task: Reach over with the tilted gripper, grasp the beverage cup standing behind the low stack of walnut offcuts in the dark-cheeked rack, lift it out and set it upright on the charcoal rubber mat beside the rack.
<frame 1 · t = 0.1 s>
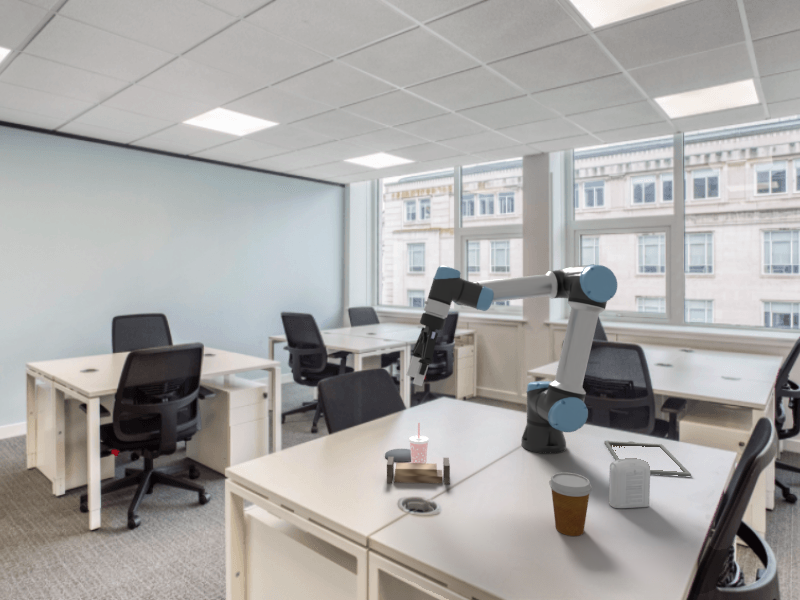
hand: (413, 380, 153), 28 cm above the table, tool tilted 20°, fingers open, 13 cm apart
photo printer: (629, 506, 129), on the table
mat: (401, 456, 165), on the table
grey rectangular frame: (642, 459, 163), on the table
disposable coffee cup: (569, 530, 116), on the table
beverage cup: (418, 467, 155), on the table
offcut rack: (418, 479, 145), on the table
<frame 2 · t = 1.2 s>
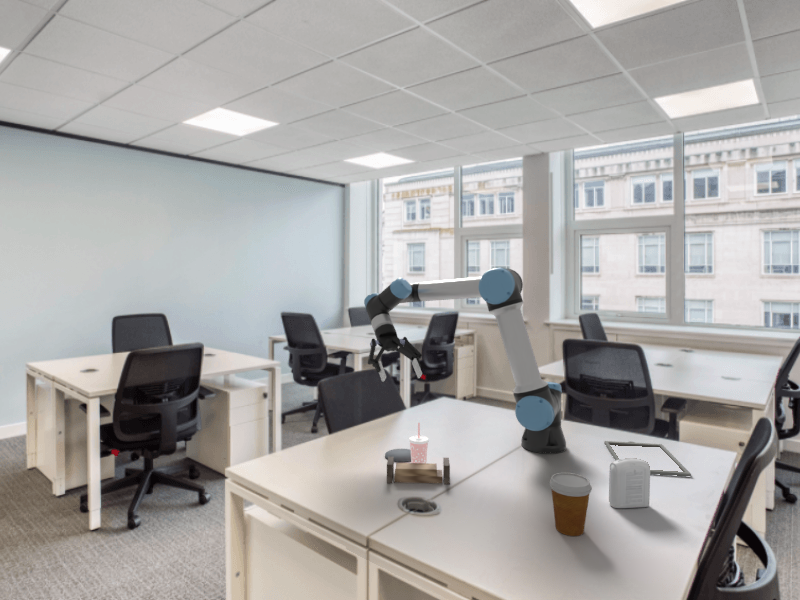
hand: (402, 377, 167), 26 cm above the table, tool tilted 45°, fingers open, 13 cm apart
nothing on the table moved.
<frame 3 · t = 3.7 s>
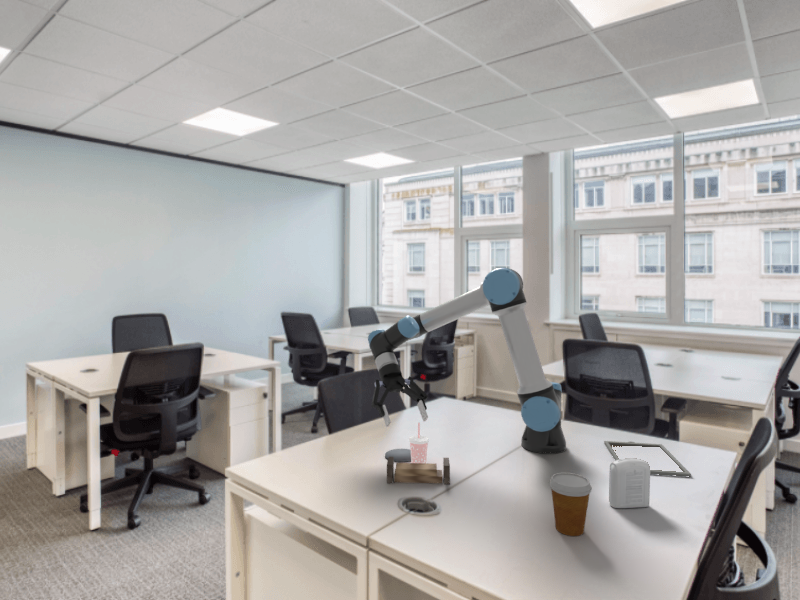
hand: (407, 422, 160), 13 cm above the table, tool tilted 45°, fingers open, 13 cm apart
nothing on the table moved.
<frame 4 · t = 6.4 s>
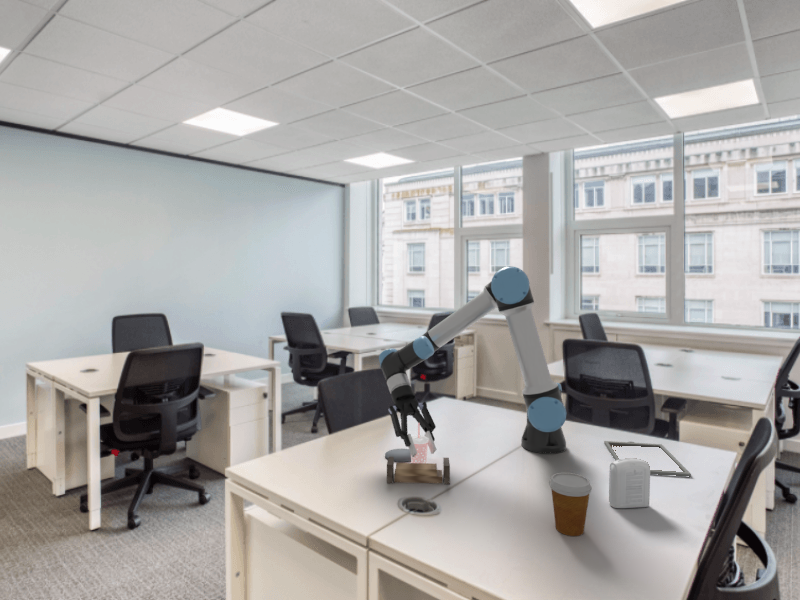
hand: (424, 453, 152), 5 cm above the table, tool tilted 45°, fingers closed on beverage cup, 6 cm apart
beverage cup: (418, 467, 155), on the table, touching gripper
everything else where it was.
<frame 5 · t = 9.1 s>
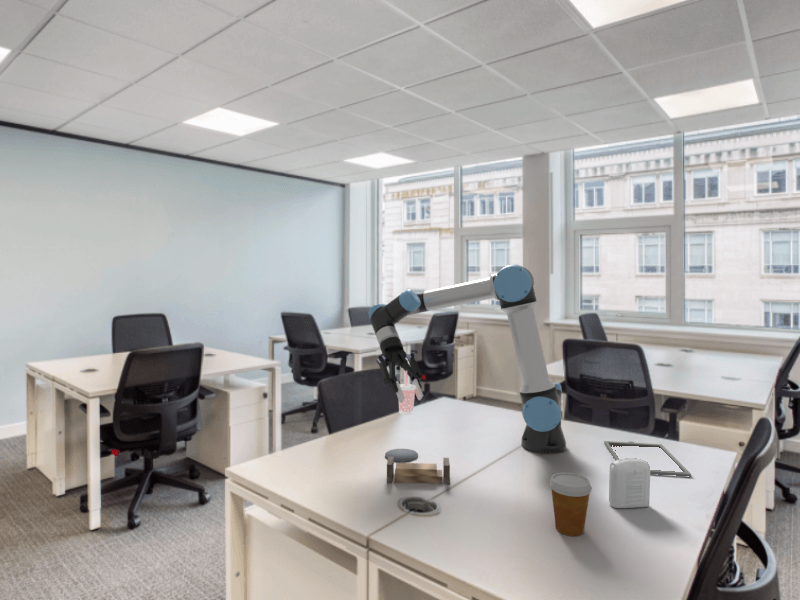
hand: (411, 399, 158), 21 cm above the table, tool tilted 45°, fingers closed on beverage cup, 6 cm apart
beverage cup: (406, 413, 161), point 15 cm above the table, touching gripper
everything else where it was.
when the fingers open (7 cm above the table, at t = 12.2 s): beverage cup drops 1 cm, resting on mat.
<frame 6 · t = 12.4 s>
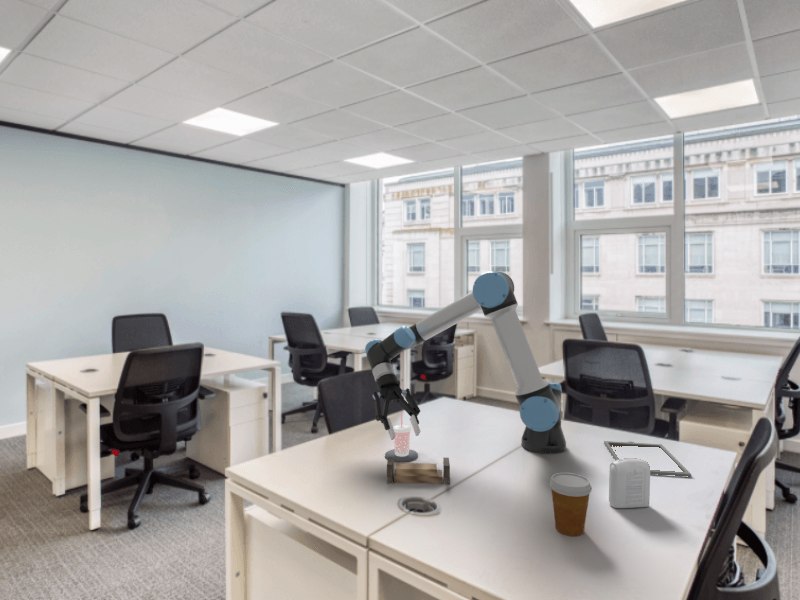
hand: (406, 435, 161), 8 cm above the table, tool tilted 45°, fingers open, 8 cm apart
beverage cup: (401, 454, 165), resting on mat
everything else where it was.
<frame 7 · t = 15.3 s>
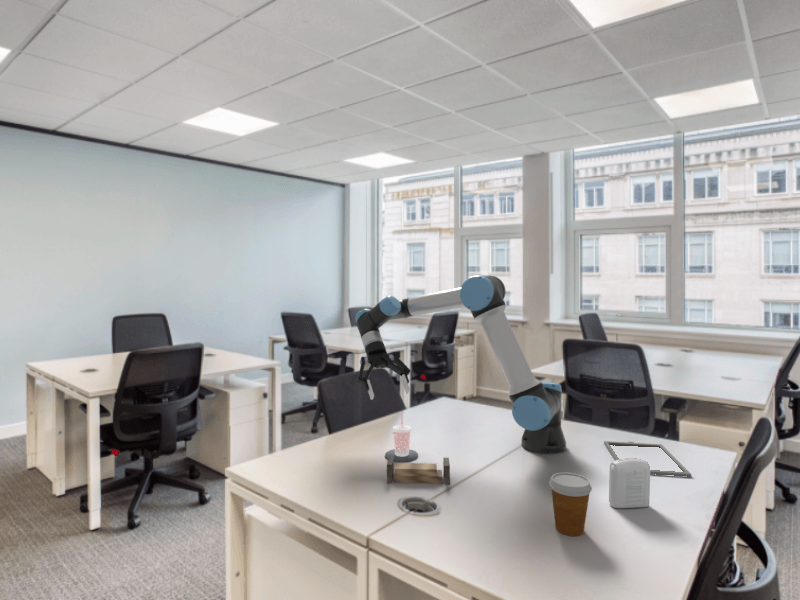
hand: (390, 394, 174), 18 cm above the table, tool tilted 40°, fingers open, 13 cm apart
nothing on the table moved.
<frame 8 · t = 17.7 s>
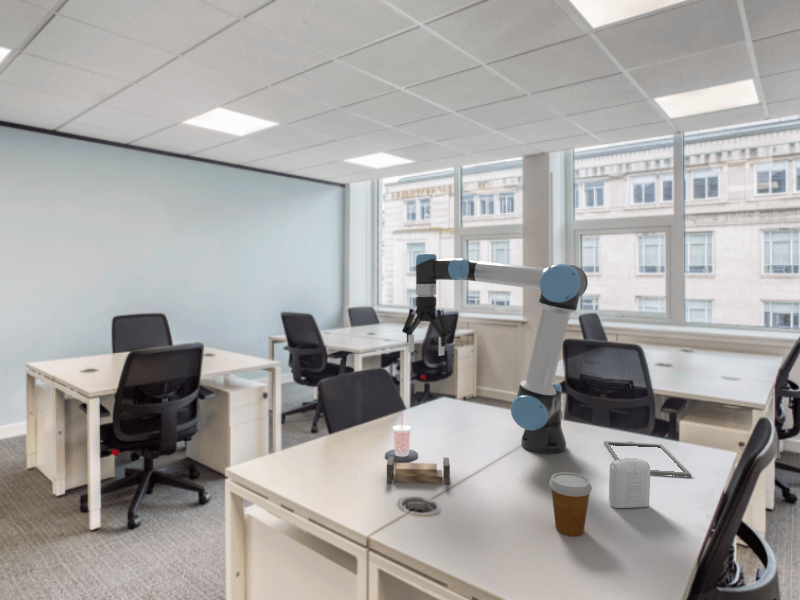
hand: (426, 353, 182), 32 cm above the table, tool pointing down, fingers open, 13 cm apart
nothing on the table moved.
at the end: beverage cup inside the target area on the mat (0.1 cm from its centre), point 0.4 cm above the mat's base; beverage cup tilted 0°; the gripper is holding nothing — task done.
